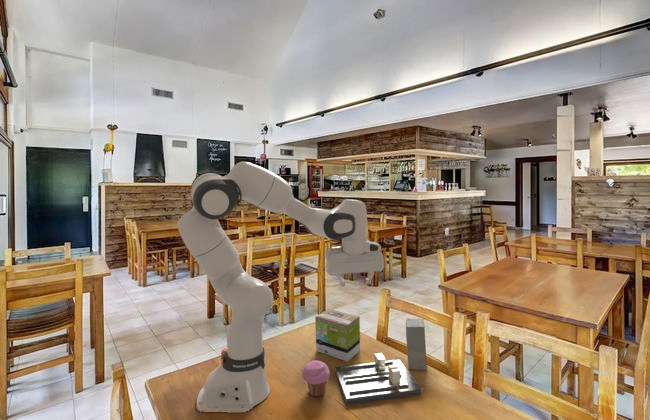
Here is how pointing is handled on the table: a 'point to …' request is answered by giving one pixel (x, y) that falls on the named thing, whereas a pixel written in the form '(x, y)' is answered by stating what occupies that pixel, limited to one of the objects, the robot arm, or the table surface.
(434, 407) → the table surface
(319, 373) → the cupcake
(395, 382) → the fader knob
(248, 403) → the robot arm
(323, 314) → the tea box
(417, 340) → the skincare box
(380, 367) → the console
